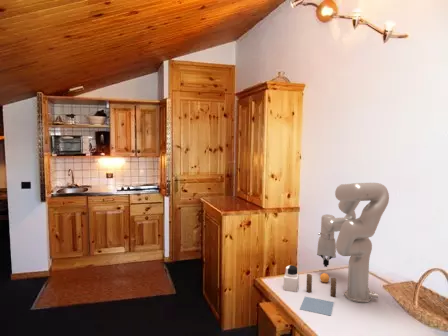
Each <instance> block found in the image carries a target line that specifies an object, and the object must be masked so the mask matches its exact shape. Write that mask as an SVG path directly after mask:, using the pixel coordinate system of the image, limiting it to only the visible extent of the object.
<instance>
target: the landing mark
mask: <svg viewBox="0 0 448 336" xmlns="http://www.w3.org/2000/svg"><path fill="white" fill-rule="evenodd" d="M334 304H335V303H334V301H330V300H326V299H320V298H315V297H309V296H304V298H303V300H302V302H301V305H300V307H299V310H301V311H305V312H310V313H315V314H320V315H326V316H329V317H332V312H333V307H334Z"/></svg>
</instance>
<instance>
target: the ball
mask: <svg viewBox="0 0 448 336" xmlns="http://www.w3.org/2000/svg"><path fill="white" fill-rule="evenodd" d="M319 279H320V281H321V282H322V283H328V282H329V280H330V276H329V274H328V273H325V272H324V273H321V274H320V275H319Z"/></svg>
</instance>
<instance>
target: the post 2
mask: <svg viewBox="0 0 448 336" xmlns="http://www.w3.org/2000/svg"><path fill="white" fill-rule="evenodd" d="M329 295H330V297H331V298H337V278H335V277H331V278H330V294H329Z"/></svg>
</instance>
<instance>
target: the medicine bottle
mask: <svg viewBox="0 0 448 336" xmlns="http://www.w3.org/2000/svg"><path fill="white" fill-rule="evenodd" d="M299 277H300V275H299V273H298V267H297V266H295V265H287V266H286V267H285V273H284V276H283V291H287V292H294V293H295V292H296V293H297V292H298V290H299V283H300V282H299V280H300V278H299Z"/></svg>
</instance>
